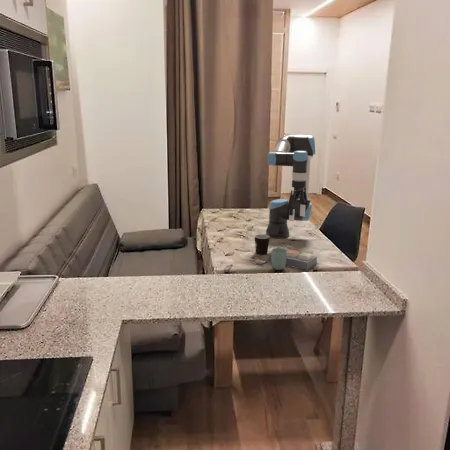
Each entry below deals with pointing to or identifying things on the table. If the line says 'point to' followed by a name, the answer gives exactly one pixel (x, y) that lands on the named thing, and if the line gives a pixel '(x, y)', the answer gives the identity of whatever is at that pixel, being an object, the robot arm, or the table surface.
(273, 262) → the cup
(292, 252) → the key mid
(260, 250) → the coffee mug
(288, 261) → the keypad
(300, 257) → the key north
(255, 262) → the tile
